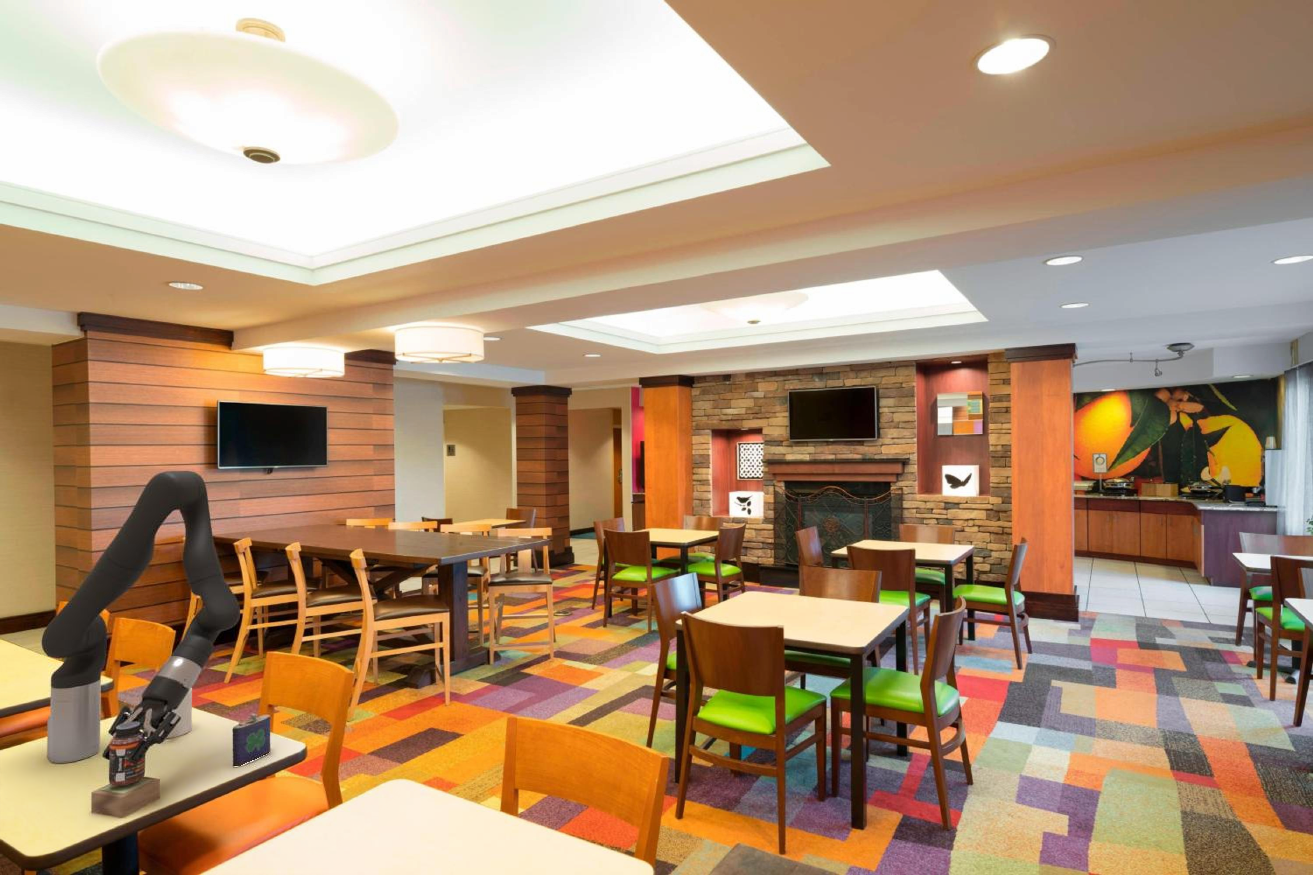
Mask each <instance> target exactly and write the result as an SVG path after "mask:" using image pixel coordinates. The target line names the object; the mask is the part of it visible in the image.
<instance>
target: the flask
mask: <svg viewBox="0 0 1313 875" xmlns="http://www.w3.org/2000/svg"><path fill="white" fill-rule="evenodd" d="M257 716H258V717H257ZM231 729H232V767H233V766H241V765H243V764H245V763H247V762H250V761H252V760H255V759H257V758H259V757H261V756H263V755H265V756H267V755H266V754H268V753H269V752H270V753H271V715H270V714H262V715H261V716H259V714H256V713H254V712H252V713H250V717H249V718H248V719H247V720H245V721H244V722H243V723H241V722H239V723H238V724H236V725H234V726H233V728H231ZM270 753H269V754H270ZM269 754H268V755H269ZM257 760H258V759H257ZM241 767H242V766H241Z"/></svg>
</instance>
